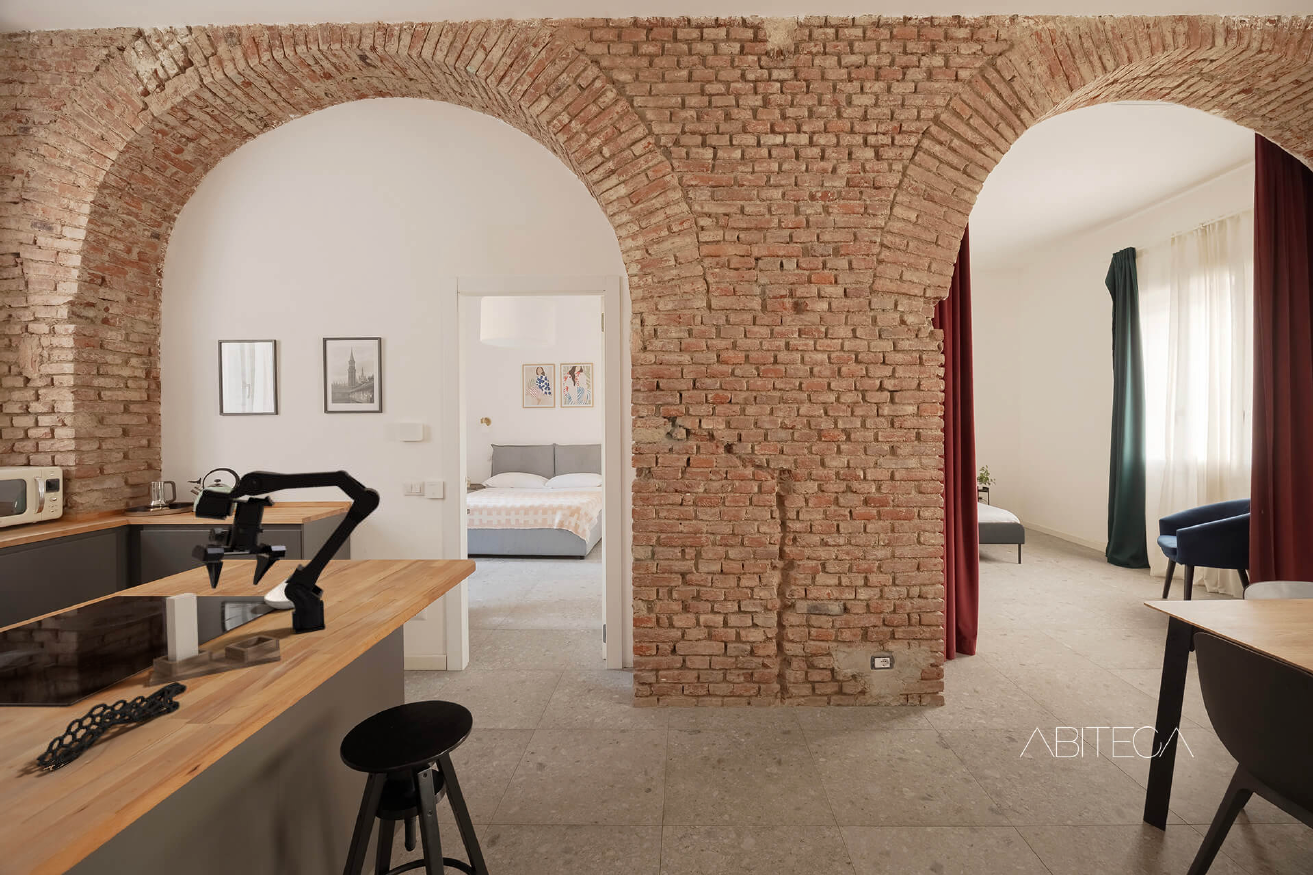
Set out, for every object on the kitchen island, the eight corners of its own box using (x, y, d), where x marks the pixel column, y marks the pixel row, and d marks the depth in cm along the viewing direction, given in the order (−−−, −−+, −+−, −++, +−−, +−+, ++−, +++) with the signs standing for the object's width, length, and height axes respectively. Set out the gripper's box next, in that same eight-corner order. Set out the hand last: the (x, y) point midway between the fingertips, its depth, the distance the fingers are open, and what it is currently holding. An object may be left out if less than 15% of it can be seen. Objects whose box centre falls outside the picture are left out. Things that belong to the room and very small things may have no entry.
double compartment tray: (278, 646, 140) (278, 631, 139) (280, 660, 131) (280, 644, 131) (156, 669, 127) (155, 652, 127) (149, 686, 119) (149, 668, 119)
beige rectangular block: (190, 662, 128) (187, 592, 128) (198, 664, 127) (196, 593, 127) (168, 669, 125) (166, 597, 124) (177, 671, 123) (174, 599, 123)
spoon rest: (307, 610, 167) (306, 585, 167) (258, 615, 163) (257, 589, 163) (325, 588, 189) (325, 565, 189) (283, 592, 186) (282, 569, 186)
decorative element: (60, 774, 89) (59, 735, 89) (30, 772, 90) (29, 733, 90) (193, 704, 112) (192, 673, 112) (168, 702, 112) (168, 671, 112)
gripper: (268, 516, 158) (256, 575, 157) (186, 516, 142) (173, 582, 141) (293, 524, 153) (281, 585, 152) (211, 525, 136) (197, 593, 136)
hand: (234, 586), depth 145 cm, fingers open, 9 cm apart
